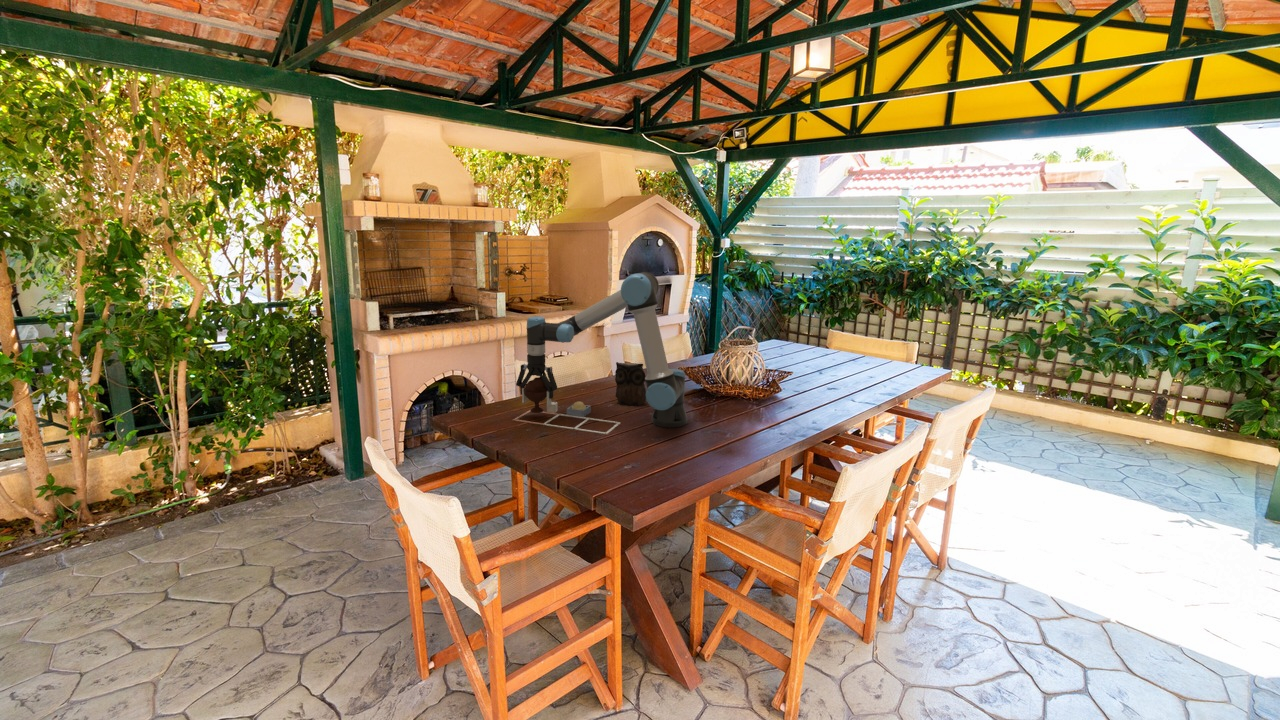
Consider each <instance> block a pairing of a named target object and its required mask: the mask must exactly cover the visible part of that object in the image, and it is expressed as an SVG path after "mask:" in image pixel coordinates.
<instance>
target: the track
mask: <svg viewBox="0 0 1280 720" xmlns="http://www.w3.org/2000/svg"><path fill="white" fill-rule="evenodd" d="M529 413H532V412H531V409H529V410H528V411H526V412H524V413H522V414H521V415H518V416H516V417H515V418H513V419H512V421H513V422H521V423H527V424H534V425H540V426H548V427H555V428H561V429H568V430H573V431H580V432H588V433H597V434H602V435H609V434H610V433H612V431H613V430H615V429H616V428H617V427H618V426H619V425H621V424H622V423H621V422H619V421H613V420H605V419H601V418H600V419H599V418H592V417H586V416H585V417H578V416H571V415H567V414H563V413H558V412H556V413H550V412H547V411H543V412H540V414H541V413H542V414H548V415H553V416H552V418H549V419H548V420H546V421H545V422H544V423H542V422H535V421H529V420H522V419H520V418H523V417H524V416H526V415H528V414H529ZM561 416H562V417H567V418H568V417H569V418H577V419H583V421H582V422H580V423H579V424H577V425H576V426H575V427H569V426H563V425H562V426H561V425H556V424H550V422H552V421H553V420H555V419H557V418H558V417H561ZM590 420H591V421H598V422H604V423H605V422H606V423H612V424H614V425H613V426H612V427H611V428H610V429H608V430H607V431H605V432H604V431H596V430H591V429H584V428H580V427H581V426H582V425H584V424H586V423H587V422H588V421H590Z"/></svg>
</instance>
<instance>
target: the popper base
mask: <svg viewBox="0 0 1280 720" xmlns="http://www.w3.org/2000/svg"><path fill="white" fill-rule="evenodd" d="M573 405H574V403H572V404H571V405H570V406H568V407H567V408H566V415H571V416H578V417H586V416H587V415H589V414H590V413H591V412H592V407H591V405H588V404H584V405H585V406H586V408H585V409H584V410H578V409H572V406H573Z"/></svg>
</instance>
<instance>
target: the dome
mask: <svg viewBox="0 0 1280 720" xmlns="http://www.w3.org/2000/svg"><path fill="white" fill-rule="evenodd" d="M573 404H574V405H573ZM573 404H572V405H573V406H572V409H578V410H584V409H585V408H586V406H585V405H586V404H585V403H584V402H583V401H581V400H580V401H579V400H578V401H575V402H574V403H573Z"/></svg>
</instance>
